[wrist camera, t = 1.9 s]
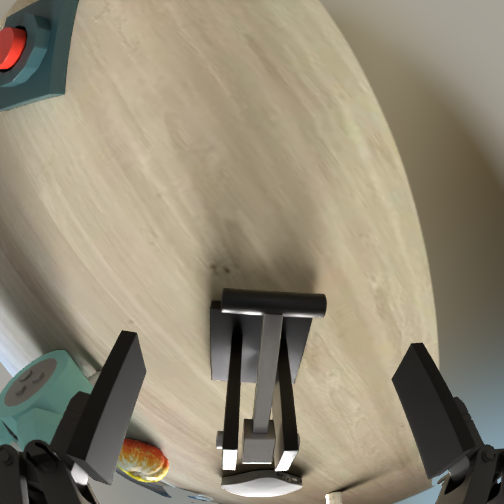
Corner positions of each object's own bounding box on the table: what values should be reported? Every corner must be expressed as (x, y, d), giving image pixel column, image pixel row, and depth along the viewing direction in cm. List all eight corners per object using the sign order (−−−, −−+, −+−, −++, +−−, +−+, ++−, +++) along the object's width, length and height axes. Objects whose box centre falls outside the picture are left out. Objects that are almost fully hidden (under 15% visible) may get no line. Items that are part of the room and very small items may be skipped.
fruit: (185, 461, 42) (171, 494, 36) (150, 450, 47) (136, 479, 40) (144, 437, 37) (126, 474, 31) (112, 426, 42) (95, 457, 36)
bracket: (211, 300, 25) (186, 426, 14) (311, 306, 25) (341, 429, 14) (212, 372, 30) (198, 476, 18) (293, 376, 30) (304, 479, 18)
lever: (224, 283, 18) (220, 293, 15) (320, 289, 18) (330, 299, 15) (217, 441, 19) (215, 461, 17) (293, 443, 19) (297, 463, 17)
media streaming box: (214, 477, 47) (213, 488, 44) (268, 465, 43) (269, 478, 40) (256, 490, 52) (256, 500, 49) (308, 478, 47) (309, 489, 45)
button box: (19, 20, 12) (-6, 15, 9) (80, -6, 13) (56, -19, 9) (7, 110, 17) (-21, 115, 13) (65, 94, 17) (35, 94, 13)
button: (4, 37, 11) (-9, 35, 9) (30, 23, 11) (17, 20, 9) (-2, 74, 12) (-16, 74, 11) (23, 62, 12) (9, 61, 11)
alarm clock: (59, 390, 34) (16, 485, 16) (21, 347, 30) (-37, 444, 12) (133, 383, 31) (91, 522, 13) (87, 329, 28) (10, 478, 10)
